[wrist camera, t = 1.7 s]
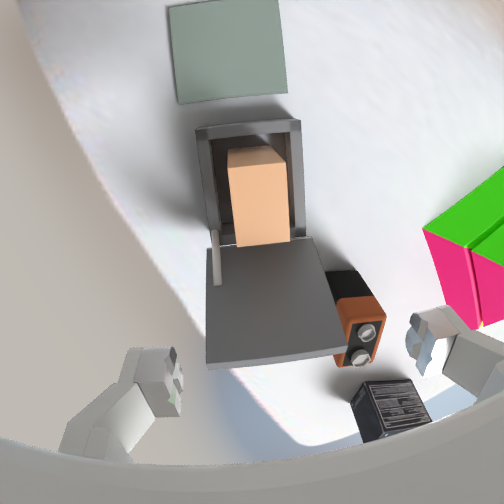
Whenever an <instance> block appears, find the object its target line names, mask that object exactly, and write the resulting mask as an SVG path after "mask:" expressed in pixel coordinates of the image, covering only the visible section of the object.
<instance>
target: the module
mask: <svg viewBox="0 0 504 504" xmlns="http://www.w3.org/2000/svg"><path fill="white" fill-rule="evenodd" d="M227 168H228V177H229V185H230V194H231V202H232V210H233V219H234V227H235V235H236V243H237V247H245V246H254V245H262V244H271V243H280V242H289V241H290V226H289V206H288V189H287V172H286V162H285V161H284V160H283V159H282V158H281V157H280V156H279V155H278V153H277V152H276V151H275V150H274V149H273V148H272V147H271V146H270V145H268V146H257V147H247V148H237V149H228V167H227Z"/></svg>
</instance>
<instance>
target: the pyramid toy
mask: <svg viewBox="0 0 504 504" xmlns="http://www.w3.org/2000/svg"><path fill="white" fill-rule="evenodd" d="M422 230H423V232H424V235H425V238H426V241H427V244H428V246H429V249H430V252H431V255H432V258H433V261H434V264H435V267H436V271H437V274H438V277H439V280H440V284H441V287H442V291H443V294H444V298H445V301H446V305H449V306H451V307H452V309H453V310H454V311H455V312H456V313H457V314H458V316H459V317H460V318H461V319H462V320H463V321H464V323H465V324H466V325H467V326H468V327H469V329H470V330H476V329H479V328H480V327H481V326H482V325H483V327H485V326H487V325H490V324H493V323H495V322H498V321H500V320H503V319H504V166H503V167H502V168H501V169H500V170H498V171H497V172H496V173H495V174H494V175H492V176H491V177H490V178H489V179H487V180H486V181H485V182H483V183H482V184H481V185H480V186H478V187H477V188H476V189H474V190H473V191H472V192H471V193H469V194H468V195H467V196H465V197H464V198H463V199H461V200H460V201H459V202H457V203H456V204H455V205H453V206H452V207H451V208H449V209H448V210H447V211H445V212H444V213H443V214H441V215H440V216H438V217H437V218H436V219H434V220H433V221H432V222H430V223H429V224H427V225H426V226H425V227H423V228H422Z"/></svg>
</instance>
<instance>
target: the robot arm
mask: <svg viewBox="0 0 504 504" xmlns="http://www.w3.org/2000/svg"><path fill="white" fill-rule="evenodd" d="M410 324H411V326H412V327H411V328H410V329H409V330H408V331H407V334H406V339H405V340H406V348H407V351H408V353H409V355H410V357H412V358H414V359H416V360H417V361H416V367H417V368H418V370H419V372H420V374H421V375H422V377H423V378H424V377H428V376H431V375H435V374H438V373H442V374H444V375H445V376H447V377H448V378H450V379H451V380H452V381H454V382H455V383H457V384H458V385H460V386H461V387H463V388H464V389H466V390H467V391H469V392H470V393H471V394H473V395H475V396H476V397H477V399H476V401H475V402H474V404H473V406H470V407H468V408H466V409H463V410H461V411H459V412H456V413H454V414H451V415H449V416H446V417H444V418H441V419H439V420H436V421H434V422H431V423H428V424H425V425H423V426H420V427H417V428H414V429H411V430H408V431H405V432H402V433H399V434H395V435H392V436H389V437H385V438H382V439H378V440H375V441H371V442H367V443H363V444H360V445H355V446H351V447H347V448H343V449H338V450H333V451H328V452H323V453H318V454H313V455H307V456H301V457H295V458H287V459H280V460H272V461H263V462H253V463H241V464H224V465H156V464H140V463H135V462H134V460H133V459H132V458H131V457H130V456H129V454H128V453H129V452H130V451H131V450H132V448H133V447H134V446H135V445H136V443H137V442H138V440H140V438H141V437H142V436H143V434H144V433H145V432H146V431H147V429H148V428H149V427H150V426H151V424H152V423H153V422H154V420H155V419H156V418H155V417H179V416H180V411H181V402H182V401H181V398H180V396H179V394H180V393H181V392H182V391H183V373H182V369H181V366H180V364H179V363H177V362H176V356H177V354H176V352H175V349H174V348H173V347H144V348H130V349H129V350H128V351H127V354H126V357H125V361H124V364H123V367H122V370H121V373H120V376H119V380H118V383H113V384H112V385H111V386H109V387H108V388H107V389H106V390H105V391H104V392H103V393H101V394H100V395H99V396H98V397H97V398H96V399H94V400H93V401H92V402H91V403H90V404H89V405H88V406H87V407H85V408H84V409H83V410H82V411H81V412H80V413H78V414H77V415H76V416H75V417H74V418H72V419H71V420H70V421H69V422H68V423H67V426H66V429H65V432H64V435H63V438H62V441H61V444H60V447H59V451H58V452H55V451H51V450H46V449H42V448H38V447H34V446H30V445H26V444H22V443H19V442H15V441H12V440H8V439H5V438H2V437H0V504H504V343H503V342H501V341H499V340H496V339H494V338H492V337H490V336H487V335H485V334H483V333H481V332H478V331H476V330H470V329H469V327H468V326H467V325H466V324H465V323H464V321H463V320H462V319H461V318H460V317H459V316H458V314H457V313H456V312H455V311H454V310H453V309H452V307H451V306H449V305H444V306H440V307H436V308H433V309H429V310H425V311H420V312H416V313H413V314H412V316H411V318H410Z"/></svg>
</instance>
